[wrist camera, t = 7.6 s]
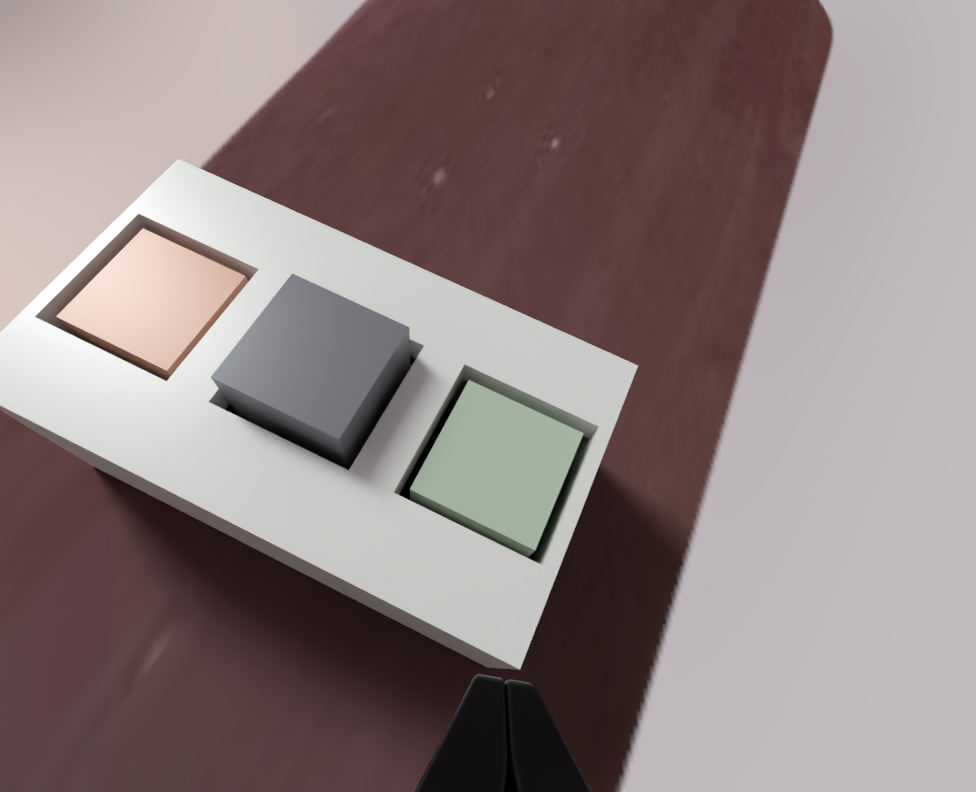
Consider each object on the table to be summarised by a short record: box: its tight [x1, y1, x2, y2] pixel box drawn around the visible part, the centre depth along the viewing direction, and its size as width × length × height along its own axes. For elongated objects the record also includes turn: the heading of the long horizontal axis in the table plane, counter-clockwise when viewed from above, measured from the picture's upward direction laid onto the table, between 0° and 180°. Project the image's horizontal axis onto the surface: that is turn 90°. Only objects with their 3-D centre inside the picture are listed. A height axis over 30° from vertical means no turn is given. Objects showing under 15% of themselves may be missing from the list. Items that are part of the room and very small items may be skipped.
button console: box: [0, 159, 638, 670], centre depth 19 cm, size 9×16×7 cm, turn 65°
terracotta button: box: [56, 229, 248, 381], centre depth 18 cm, size 4×4×2 cm
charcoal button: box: [211, 273, 410, 469], centre depth 16 cm, size 4×4×2 cm
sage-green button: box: [410, 380, 584, 558], centre depth 17 cm, size 4×4×2 cm
